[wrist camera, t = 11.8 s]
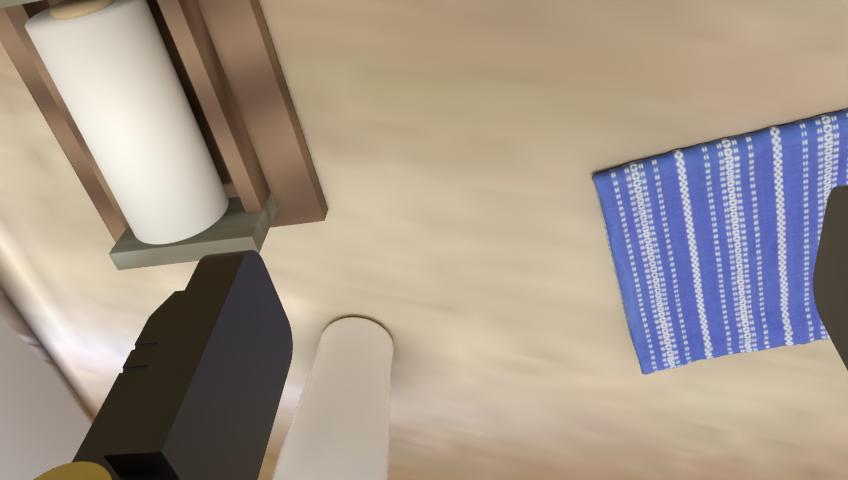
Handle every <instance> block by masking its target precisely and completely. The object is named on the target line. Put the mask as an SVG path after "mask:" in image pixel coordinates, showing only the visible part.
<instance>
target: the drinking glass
mask: <svg viewBox="0 0 848 480" xmlns="http://www.w3.org/2000/svg"><path fill="white" fill-rule="evenodd" d="M393 352H394V347H393V342H392V339H391V337H390V335H389V334H388V332H387V331H386V330H385V329H384V328H383V327H381V326H380V325H379V324H377V323H375V322H373V321H371V320H368V319H364V318H358V317H350V318H343V319H340V320H337V321H335V322H333V323H332V324H330V325H329V326H328V327H327V328H326V329H325V330H324V332H323V333H322V335H321V338H320V341H319V345H318V349H317V353H316V356H315V359H314V362H313V364H312V367H311V370H310V372H309V375H308V378H307V381H306V383H305V386H304V389H303V391H302V394H301V397H300V399H299V402H298V405H297V407H296V410H295V413H294V415H293V418H292V420H291V423H290V426H289V428H288V431H287V434H286V436H285V439H284V442H283V444H282V447H281V450H280V453H279V456H278V459H277V462H276V465H275V469H274V472H273V476H272V479H271V480H388V470H389V436H390V396H391V369H392V360H393Z"/></svg>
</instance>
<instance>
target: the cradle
mask: <svg viewBox="0 0 848 480" xmlns="http://www.w3.org/2000/svg"><path fill="white" fill-rule="evenodd" d="M62 1H64V0H0V41H1V43H2V44H3V46H4V48H5V50H6V51H7V53H8V55H9V57H10V58H11V60H12V62H13V64H14V65H15V67H16V69H17V71H18V72H19V74H20V76H21V78H22V79H23V81H24V83H25V85H26V86H27V88H28V90H29V92H30V93H31V95H32V97H33V99H34V100H35V102H36V104H37V106H38V107H39V109H40V111H41V113H42V114H43V116H44V118H45V120H46V121H47V123H48V125H49V127H50V128H51V130H52V132H53V134H54V135H55V137H56V139H57V141H58V142H59V144H60V146H61V148H62V149H63V151H64V153H65V155H66V156H67V158H68V160H69V162H70V163H71V165H72V167H73V169H74V170H75V172H76V174H77V176H78V177H79V179H80V181H81V183H82V184H83V186H84V188H85V190H86V191H87V193H88V195H89V197H90V198H91V200H92V202H93V204H94V205H95V207H96V209H97V211H98V212H99V214H100V216H101V218H102V219H103V221H104V223H105V225H106V226H107V228H108V230H109V232H110V234H111V235H112V237H113V239H114V241H115V242H116V244H115V246H114V247H113V248H112V250H111V251H110V253H109V255H110V257H111V259H112V261H113V262H114V264H115V266H116V267H117V269H118V270H123V269H132V268H140V267H149V266H157V265H166V264H174V263H182V262H191V261H199V260H200V259H201V258H202V257H203V256H205V255H210V254H219V253H228V252H237V251H246V250H255V251H256V252H258V253H259V252H260V250H261V247H262V245H263V242H264V240H265V238H266V235H267V233H268V230H269V228H270V227H278V226H286V225H294V224H302V223H310V222H318V221H325V218H326V215H327V211H328V208H327V205H326V202H325V199H324V196H323V193H322V190H321V187H320V184H319V181H318V178H317V175H316V172H315V169H314V166H313V163H312V160H311V157H310V154H309V151H308V148H307V145H306V142H305V139H304V136H303V133H302V130H301V127H300V124H299V121H298V118H297V115H296V112H295V109H294V106H293V103H292V100H291V97H290V94H289V91H288V88H287V85H286V82H285V79H284V76H283V73H282V70H281V67H280V64H279V61H278V58H277V55H276V52H275V49H274V46H273V43H272V40H271V37H270V34H269V31H268V28H267V25H266V22H265V20H264V17H263V14H262V11H261V8H260V5H259V2H258V0H147V3H148V5H149V7H150V10H151V12H152V15H153V17H154V20H155V22H156V24H157V27H158V29H159V32H160V34H161V36H162V39H163V41H164V44H165V46H166V49H167V51H168V53H169V56H170V58H171V61H172V63H173V66H174V68H175V70H176V73H177V75H178V78H179V80H180V82H181V85H182V87H183V90H184V92H185V95H186V97H187V99H188V102H189V104H190V107H191V109H192V111H193V114H194V116H195V119H196V121H197V124H198V126H199V128H200V131H201V133H202V136H203V138H204V140H205V143H206V145H207V148H208V150H209V153H210V155H211V157H212V160H213V162H214V165H215V167H216V170H217V172H218V174H219V177H220V179H221V182H222V184H223V186H224V189H225V191H226V194H227V196H228V199H229V205H228V208H227V210H226V212H225V213H224V214H223V216H222V217H221V218H220V219H219V220H218V221H217V222H216V223H214V224H213V225H212V226H210V227H209V228H207V229H206V230H204V231H202V232H200V233H199V234H196V235H194V236H192V237H189V238H187V239H184V240H181V241H177V242H173V243H167V244H148V243H144V242H142V241H140V240H138V239H137V238H136V237H135V235H134V233H133V231H132V229H131V227H130V225H129V223H128V222H127V220H126V218H125V216H124V214H123V212H122V210H121V208H120V206H119V204H118V203H117V201H116V199H115V197H114V195H113V193H112V191H111V189H110V187H109V186H108V184H107V182H106V180H105V178H104V176H103V174H102V172H101V170H100V168H99V167H98V165H97V163H96V161H95V159H94V157H93V155H92V153H91V151H90V150H89V148H88V146H87V144H86V142H85V140H84V138H83V136H82V134H81V133H80V131H79V129H78V127H77V125H76V123H75V121H74V119H73V117H72V115H71V114H70V112H69V110H68V108H67V106H66V104H65V102H64V100H63V98H62V97H61V95H60V93H59V91H58V89H57V87H56V85H55V83H54V81H53V79H52V78H51V76H50V74H49V72H48V70H47V68H46V66H45V64H44V62H43V61H42V59H41V57H40V55H39V53H38V51H37V49H36V47H35V45H34V44H33V42H32V40H31V38H30V36H29V34H28V32H27V30H26V28H25V23H26V22H27V21H28V20H29V19H30V18H31V17H33V16H34V15H36V14H38V13H39V12H41V11H43V10H45V9H47V8H49V7H52V6H54V5H56V4H58V3H60V2H62Z"/></svg>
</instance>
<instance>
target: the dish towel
mask: <svg viewBox="0 0 848 480" xmlns="http://www.w3.org/2000/svg"><path fill="white" fill-rule="evenodd" d="M592 180H593V182H594V184H595V187H596V193H597V196H598V200H599V204H600V207H601V212H602V217H603V223H604V228H605V232H606V236H607V240H608V245H609V250H610V253H611V258H612V262H613V266H614V271H615V274H616V278H617V284H618V289H619V294H620V298H621V301H622V304H623V309H624V313H625V316H626V321H627V324H628V328H629V332H630V336H631V339H632V342H633V345H634V348H635V350H636V353H637V356H638V359H639V362H640V367H641V371H642V374H645V375H646V374H650V373H652V372H656V371H659V370H663V369H672V368H677V367H680V366H682V365H685V364H688V363H692V362H694V361H696V360H700V359H711V358H715V357H720V356H723V355H728V354H735V353H743V352H753V351H760V350H764V349H770V348H775V347H780V346H786V345H787V346H791V345H796V344H806V343H809V342H813V341H815V340H819V339H831V338H830V336H829V335H828V333H827V331H826V329H825V327H824V325H823V323H822V321H821V319H820V317H819V315H818V312H817V309H816V305H815V301H814V295H813V272H814V267H815V262H816V256H817V251H818V246H819V241H820V235H821V230H822V225H823V220H824V214H825V209H826V204H827V199H828V196H829V194H830V192H831V190H832V189H833V188H834V187H836V186H842V185H848V109H845V110H842V111H839V112H835V113H828V114H824V115H820V116H816V117H813V118H810V119H807V120H799V121H797V122H795V123H792V124H786V125H781V126H773V127H768V128H766V129H764V130H761V131H757V132H753V133H747V134H743V135H740V136H731V137H728V138H724V139H719V140H715V141H713V142H710V143H701V144H698V145H696V146H692V147H689V148H685V149H677V150H673V151H671V152H669V153H666V154H662V155H659V156H653V157H650V158H647V159H644V160H638V161H634V162H631V163H628V164H625V165H623V166H621V167H618V168H615V169H610V170H608V171H606V172H602V173H599V174H597V175H594V176H593V177H592Z"/></svg>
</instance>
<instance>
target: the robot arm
mask: <svg viewBox="0 0 848 480" xmlns="http://www.w3.org/2000/svg"><path fill="white" fill-rule="evenodd" d="M813 295H814V301H815V305H816V309H817V312H818V315H819V317H820V319H821V321H822V323H823V325H824V327H825V329H826V331H827V333H828V335H829V336H830V338H831V340H832V342H833V344H834V346H835V348H836V349H837V351H838V353H839V355H840V357H841V359H842V361H843V362H844V364H845V366H846V368H847V370H848V185H842V186H836V187H834V188H833V189H832V190H831V192H830V194H829V196H828V199H827V204H826V209H825V214H824V220H823V225H822V230H821V235H820V241H819V246H818V251H817V256H816V262H815V267H814V272H813ZM292 350H293V342H292V332H291V327H290V324H289V321H288V318H287V316H286V314H285V311H284V309H283V306H282V304H281V302H280V299H279V297H278V295H277V292H276V290H275V288H274V285H273V283H272V280H271V278H270V276H269V273H268V271H267V269H266V266H265V264H264V262H263V259H262V258H261V256H260V255H259V253H258V252H256V251H255V250H246V251H237V252H228V253H219V254H210V255H205V256H203V257H202V258H201V259H200V261H199V263H198V265H197V267H196V269H195V271H194V273H193V275H192V277H191V279H190V281H189V283H188V285H187V287H186V289H185V290H184V291H175V292H174V293H173V294H172V295H171V296H170V297H169V298H168V299H167V300H166V301H165V302H164V303H163V304H162V305H161V306H160V307H159V308H158V309H157V310H156V311H155V312H154V313H153V314H152V315H151V316H150V317H149V319H148V321H147V322H146V324H145V326H144V328H143V330H142V332H141V334H140V336H139V337H138V339H137V341H136V343H135V350H132V351H131V352H130V354H129V356H128V358H127V360H126V362H125V364H124V366H123V373H119V375H118V377H117V379H116V381H115V382H114V384H113V386H112V388H111V390H110V392H109V394H108V396H107V397H106V399H105V401H104V403H103V405H102V407H101V409H100V411H99V412H98V414H97V416H96V418H95V420H94V422H93V424H92V426H91V428H90V429H89V431H88V433H87V435H86V437H85V439H84V441H83V442H82V444H81V446H80V448H79V450H78V452H77V454H76V456H75V457H74V459H73V461H72V463H69V464H65V465H61V466H59V467H56V468H53V469H51V470H49V471H47V472H46V473H43V474H42V475H40V476H39V477H37V478H35V479H34V480H257V479H258V475H259V472H260V468H261V465H262V461H263V458H264V455H265V451H266V448H267V444H268V441H269V437H270V434H271V430H272V427H273V423H274V420H275V416H276V413H277V409H278V406H279V402H280V399H281V395H282V392H283V388H284V385H285V381H286V378H287V374H288V371H289V367H290V364H291V359H292Z"/></svg>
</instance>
